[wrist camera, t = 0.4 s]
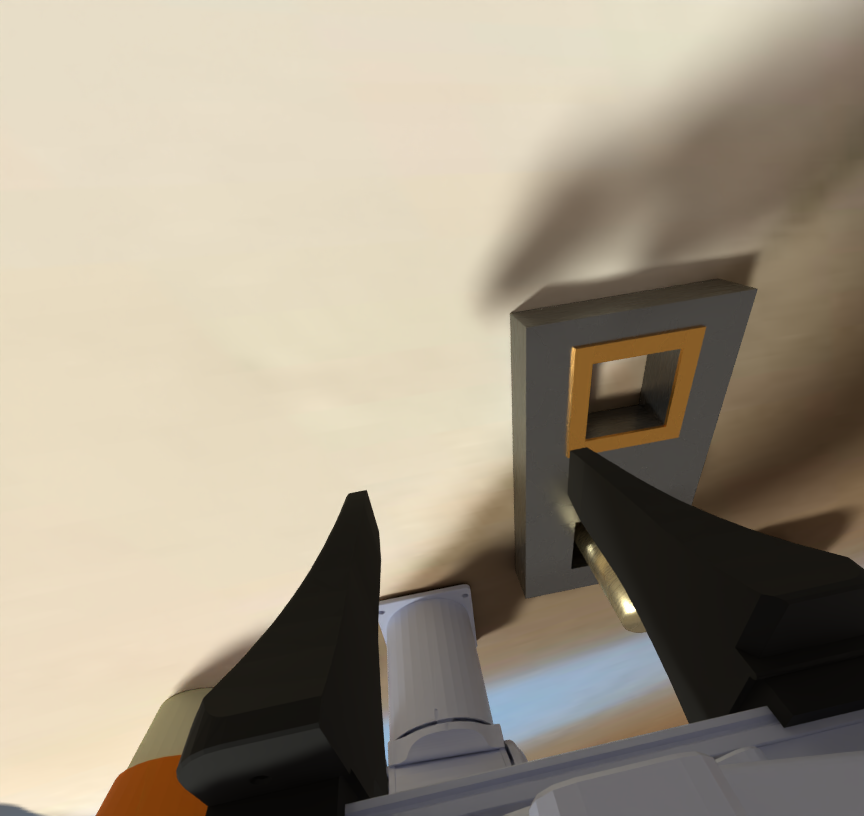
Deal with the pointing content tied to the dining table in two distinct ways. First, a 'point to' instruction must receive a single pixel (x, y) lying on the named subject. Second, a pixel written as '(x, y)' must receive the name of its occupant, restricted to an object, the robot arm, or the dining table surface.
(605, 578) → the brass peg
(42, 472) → the dining table surface
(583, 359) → the hole plate
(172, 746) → the reusable coffee cup
